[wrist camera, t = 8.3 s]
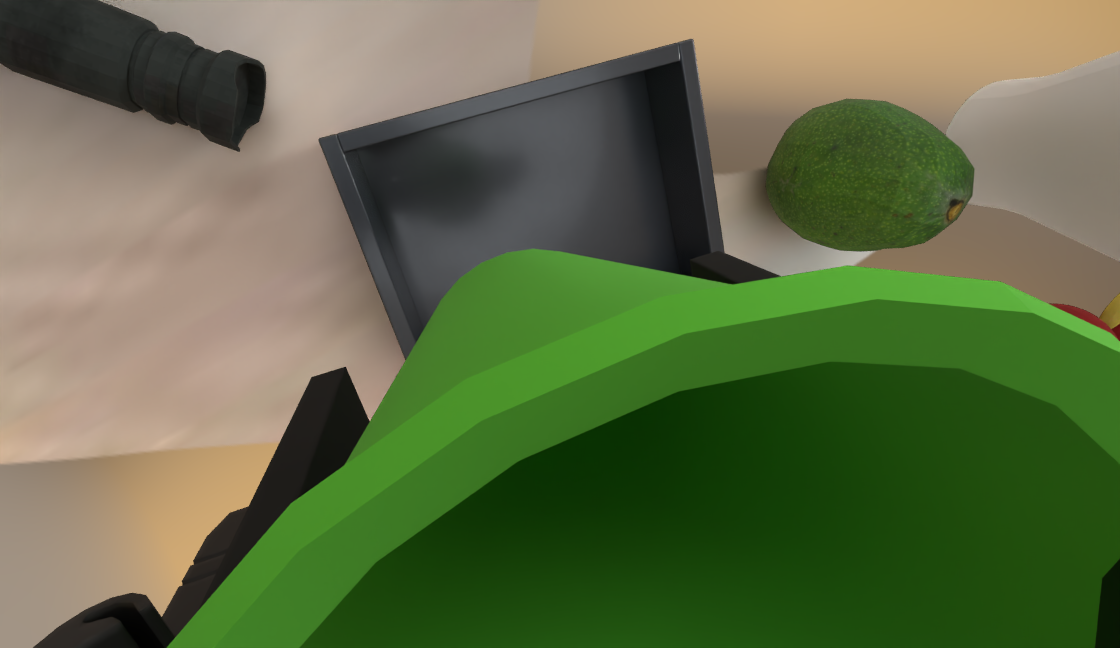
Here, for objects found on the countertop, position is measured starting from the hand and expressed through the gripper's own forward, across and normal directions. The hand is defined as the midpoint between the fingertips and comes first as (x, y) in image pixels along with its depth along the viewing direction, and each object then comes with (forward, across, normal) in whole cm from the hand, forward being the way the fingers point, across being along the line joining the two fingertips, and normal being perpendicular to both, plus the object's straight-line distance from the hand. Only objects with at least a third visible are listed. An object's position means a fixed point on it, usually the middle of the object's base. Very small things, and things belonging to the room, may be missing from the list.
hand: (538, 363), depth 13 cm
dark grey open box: (+20, +3, 0) cm, 21 cm away
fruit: (+21, +20, -2) cm, 29 cm away
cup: (+2, 0, 0) cm, 2 cm away
